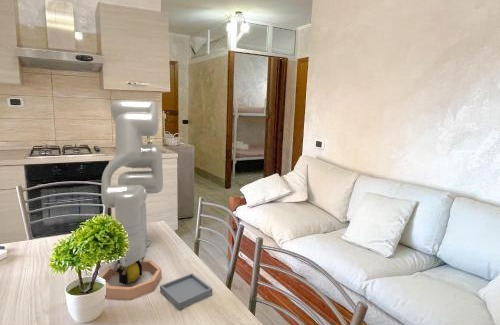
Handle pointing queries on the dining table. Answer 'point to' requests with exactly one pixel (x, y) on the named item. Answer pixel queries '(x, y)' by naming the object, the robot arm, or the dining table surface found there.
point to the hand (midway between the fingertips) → (131, 278)
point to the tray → (185, 291)
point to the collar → (136, 290)
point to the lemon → (132, 272)
